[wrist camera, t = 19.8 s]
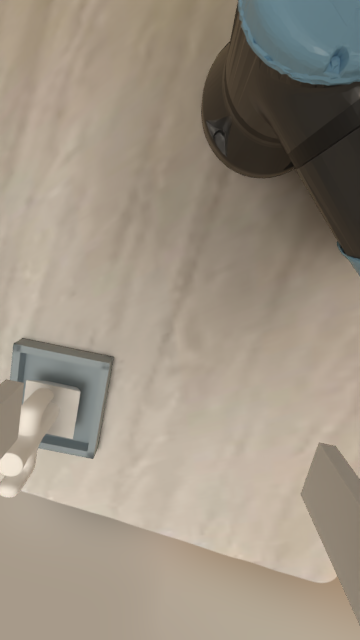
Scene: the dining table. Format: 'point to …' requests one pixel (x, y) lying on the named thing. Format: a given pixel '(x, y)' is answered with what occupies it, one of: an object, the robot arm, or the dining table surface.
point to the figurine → (38, 429)
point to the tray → (74, 371)
